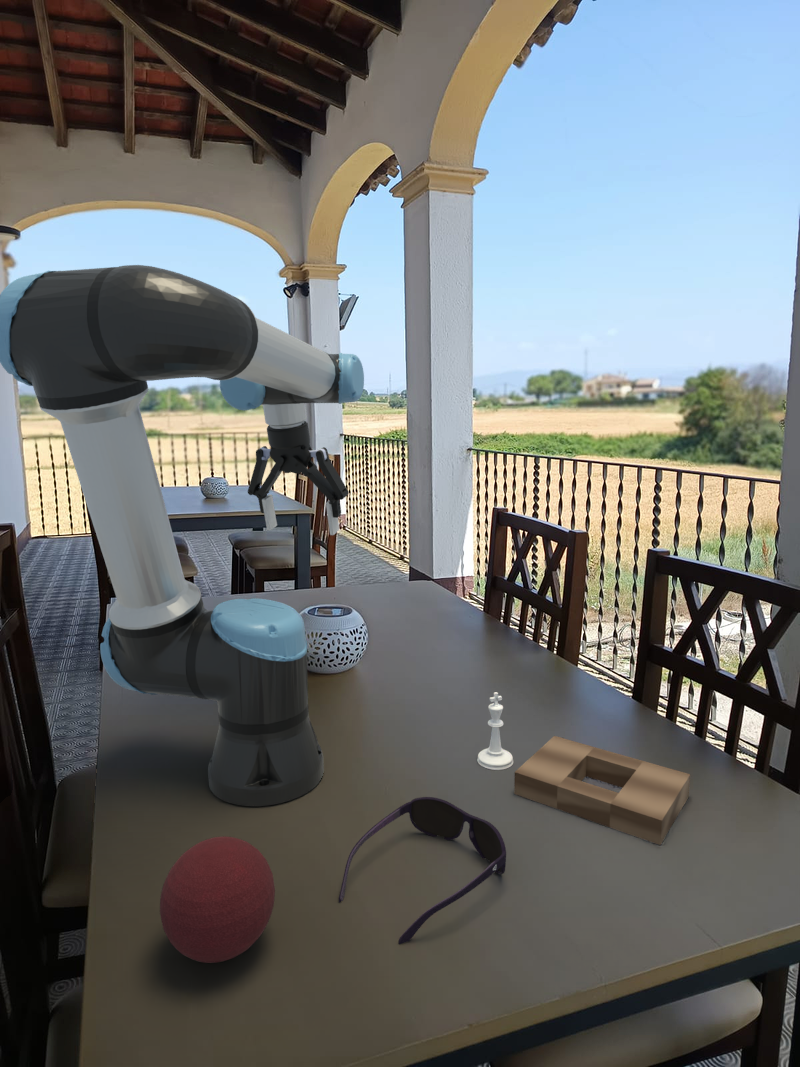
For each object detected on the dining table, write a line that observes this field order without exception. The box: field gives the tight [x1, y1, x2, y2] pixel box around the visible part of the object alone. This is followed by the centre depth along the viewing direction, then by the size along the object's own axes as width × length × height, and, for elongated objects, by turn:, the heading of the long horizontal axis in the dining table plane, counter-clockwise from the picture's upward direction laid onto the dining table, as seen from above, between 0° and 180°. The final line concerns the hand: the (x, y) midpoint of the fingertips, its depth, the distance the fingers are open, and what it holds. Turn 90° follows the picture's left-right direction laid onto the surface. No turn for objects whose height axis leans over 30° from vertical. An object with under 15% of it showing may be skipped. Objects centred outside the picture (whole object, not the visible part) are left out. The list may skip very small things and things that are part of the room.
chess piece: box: [476, 691, 514, 771], centre depth 94 cm, size 5×5×10 cm
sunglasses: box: [338, 796, 507, 945], centre depth 70 cm, size 14×16×5 cm
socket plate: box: [513, 735, 691, 846], centre depth 86 cm, size 12×18×3 cm, turn 53°
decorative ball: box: [159, 835, 276, 964], centre depth 61 cm, size 10×10×10 cm
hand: (302, 530), depth 133 cm, fingers open, 13 cm apart
